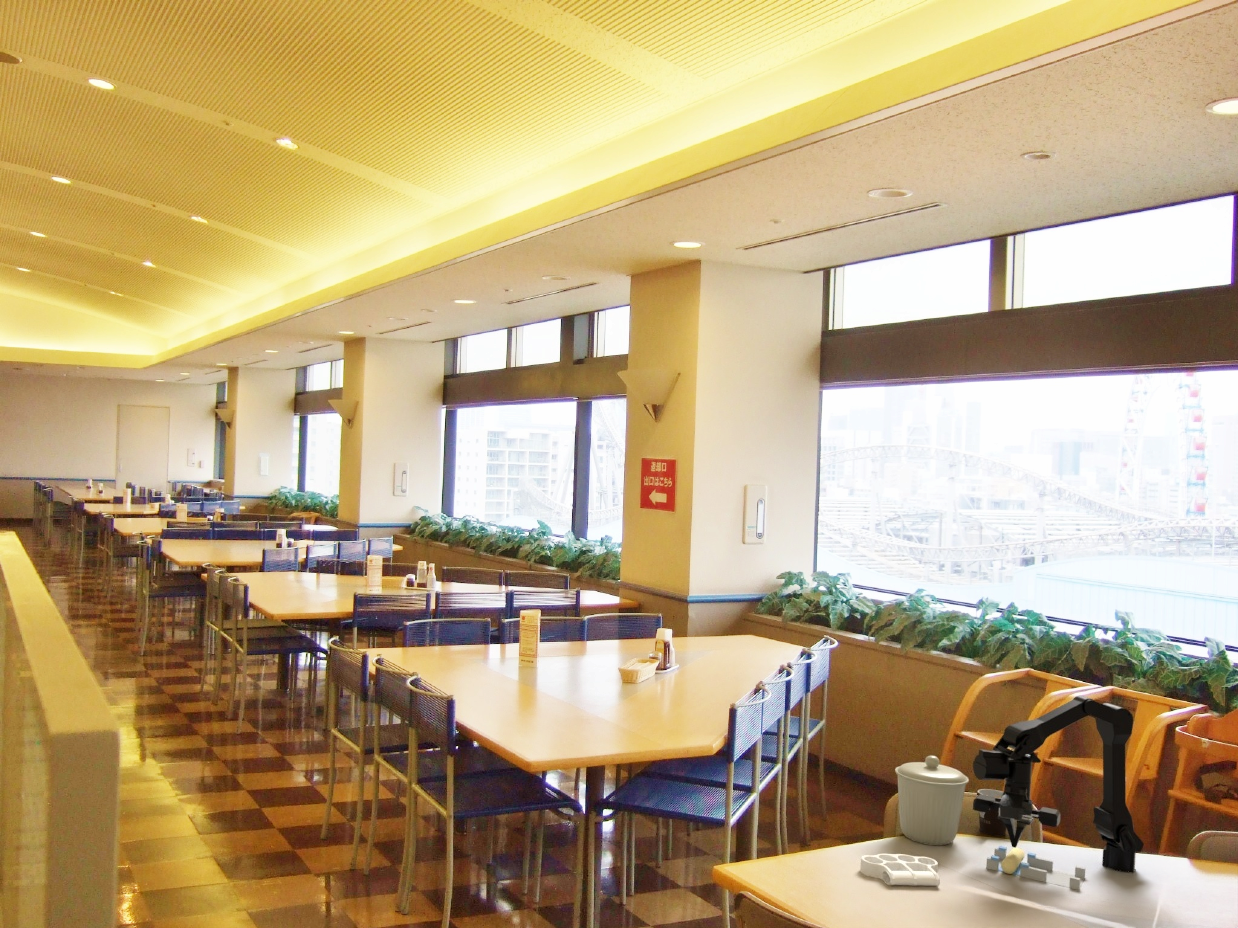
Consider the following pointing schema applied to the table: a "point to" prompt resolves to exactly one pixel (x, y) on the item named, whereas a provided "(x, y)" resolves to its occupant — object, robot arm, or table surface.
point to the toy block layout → (1038, 870)
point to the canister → (930, 801)
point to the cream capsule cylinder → (1012, 860)
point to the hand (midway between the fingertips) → (1014, 846)
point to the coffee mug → (991, 816)
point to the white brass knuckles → (901, 869)
